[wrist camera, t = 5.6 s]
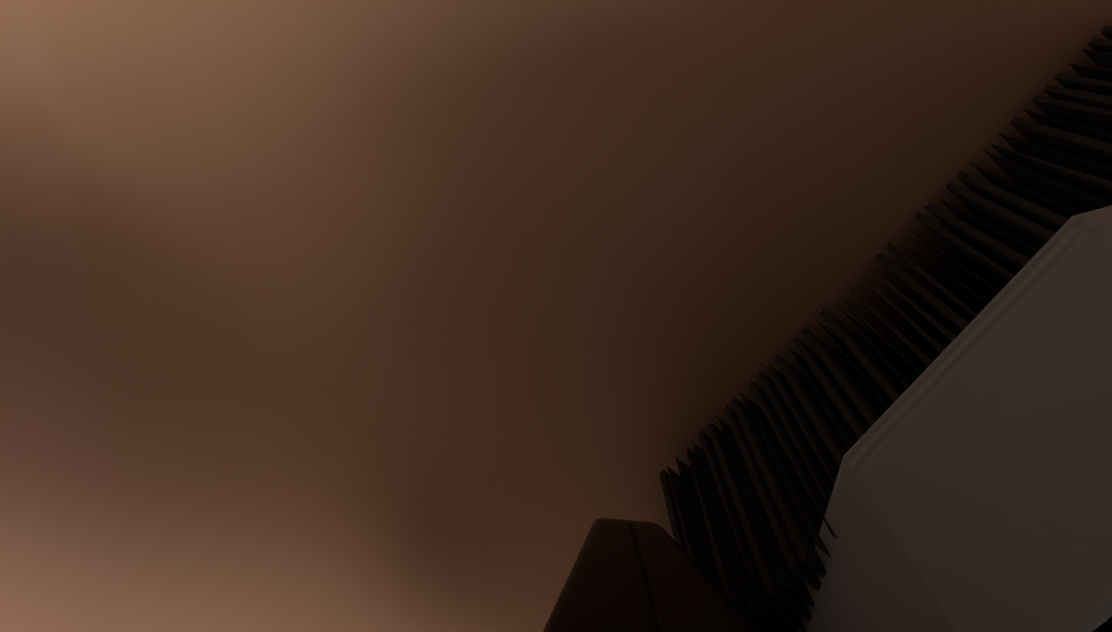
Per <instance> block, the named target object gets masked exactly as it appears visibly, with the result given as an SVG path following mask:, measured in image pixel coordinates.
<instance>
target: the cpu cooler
mask: <svg viewBox="0 0 1112 632" xmlns="http://www.w3.org/2000/svg"><path fill="white" fill-rule="evenodd" d="M1100 32H1101V33H1102V34H1103V35H1104V36H1105V37H1106V38H1107V39H1109V40H1107V39H1099V38H1093V39H1092V40H1091V41H1090V42H1089V43H1088V45H1089V46H1090V47H1091V48H1092V49H1093V50H1094V51H1090V50H1083V52H1084V53H1085V54H1086V55H1087V56H1088V57H1089V58H1090V59H1091V61H1092V62H1093V63H1094V64H1095V65H1096V66H1097V67H1094V66H1086V65H1078V64H1071V63H1068V64H1069V65H1070V66H1071V67H1072V68H1073V69H1074V70H1075V71H1076V72H1077V74H1078V75H1079V76H1078V75H1073V74H1067V73H1062V72H1059V73H1058V74H1057V75H1056V76H1055V77H1054V79H1055V80H1056V81H1057V82H1058V83H1059V84H1060V85H1061V86H1062V87H1061V86H1056V85H1051V84H1047V85H1046V86H1045V87H1044V88H1043V89H1042V90H1043V91H1044V92H1045V93H1046V94H1047V95H1048V96H1049V97H1046V96H1042V95H1036V96H1035V97H1034V98H1033V99H1032V101H1033V102H1034V103H1035V104H1036V105H1037V106H1038V107H1039V108H1040V109H1041V110H1042V111H1043V112H1044V113H1045V114H1046V115H1044V114H1040V113H1036V112H1032V111H1028V110H1024V109H1023V110H1024V111H1025V112H1026V113H1027V114H1028V115H1029V116H1030V117H1031V119H1032V120H1033V121H1034V122H1031V121H1028V120H1024V119H1021V118H1017V117H1014V118H1013V119H1012V120H1011V121H1010V122H1009V123H1010V124H1012V125H1013V126H1014V127H1015V128H1016V129H1017V130H1018V131H1019V132H1020V133H1021V134H1022V135H1023V136H1024V137H1025V138H1026V139H1027V140H1028V141H1029V142H1026V141H1023V140H1019V139H1016V138H1012V137H1009V136H1006V135H1002V134H999V133H998V134H999V135H1000V136H1001V137H1002V138H1003V139H1004V140H1006V141H1007V142H1008V143H1009V144H1010V145H1011V146H1012V147H1013V148H1014V149H1015V150H1016V151H1017V152H1015V151H1012V150H1009V149H1005V148H1002V147H999V146H996V145H992V144H990V145H991V146H992V147H993V148H994V149H995V150H996V151H997V152H998V153H999V154H1000V155H1001V156H1002V157H1003V158H1002V157H1000V156H997V155H995V154H992V153H990V152H988V151H985V150H983V149H982V150H983V151H984V152H985V153H986V154H987V155H988V156H989V157H990V158H991V159H992V160H993V161H994V162H995V163H996V164H997V165H998V166H999V167H1000V168H1001V169H1002V170H1003V171H1004V172H1005V173H1006V174H1007V175H1008V176H1009V177H1010V178H1011V179H1012V180H1013V181H1014V182H1015V183H1014V182H1012V181H1010V180H1008V179H1005V178H1003V177H1001V176H999V175H996V174H994V173H992V172H990V171H987V170H985V169H983V168H981V167H978V166H976V165H974V164H972V163H970V164H971V165H972V166H974V167H975V168H976V169H977V170H978V171H979V172H980V173H981V174H982V175H983V176H984V177H985V178H986V179H987V180H988V181H989V182H990V183H992V184H993V185H992V184H990V183H988V182H985V181H983V180H981V179H979V178H976V177H974V176H972V175H970V174H967V173H965V172H963V171H960V172H959V173H958V174H957V175H956V177H957V178H958V179H959V180H961V181H962V182H963V183H964V184H965V185H966V186H967V187H968V188H969V189H970V190H971V191H972V192H971V191H969V190H967V189H965V188H963V187H961V186H958V185H956V184H954V183H952V182H949V183H948V184H947V185H946V186H945V187H946V188H947V189H948V190H949V191H950V192H951V193H952V194H953V195H955V196H956V197H957V198H958V199H959V200H960V201H961V202H962V203H963V204H964V205H965V206H966V207H967V208H968V209H970V210H971V211H972V212H973V213H974V214H975V215H976V216H977V217H978V218H977V217H975V216H973V215H971V214H969V213H967V212H965V211H963V210H961V209H959V208H957V207H955V206H953V205H951V204H949V203H947V202H945V201H943V200H941V199H939V198H937V197H936V198H937V199H938V200H939V201H940V202H942V203H943V204H944V205H945V206H946V207H947V208H948V209H949V210H950V211H952V212H953V213H954V214H955V215H956V216H957V217H958V218H959V219H958V218H957V217H955V216H953V215H951V214H949V213H948V212H946V211H944V210H942V209H941V208H939V207H937V206H935V205H934V204H932V203H930V202H929V203H928V204H927V205H926V206H925V208H926V209H927V210H928V211H929V212H930V213H931V214H932V215H933V216H935V217H936V218H937V219H938V220H939V221H940V222H941V223H942V224H943V225H944V226H945V227H947V228H948V229H949V230H950V231H951V232H952V233H953V234H954V235H955V236H956V237H955V236H954V235H952V234H951V233H949V232H948V231H946V230H945V229H943V228H942V227H940V226H939V225H937V224H936V223H934V222H933V221H931V220H930V219H928V218H927V217H925V216H923V215H922V214H920V213H918V214H917V215H916V216H915V217H914V218H915V219H916V220H917V221H918V222H920V223H921V224H922V225H923V226H924V227H925V228H926V229H928V230H929V231H930V232H931V233H932V234H933V235H934V236H936V237H937V238H938V239H939V240H940V241H941V242H942V243H944V244H945V245H946V246H947V247H948V248H949V249H950V250H952V251H953V252H954V253H955V254H956V255H957V256H958V257H960V258H961V259H962V260H963V261H964V262H965V263H966V264H968V265H969V266H970V267H971V268H972V269H973V270H974V271H976V272H977V273H978V274H979V275H980V276H981V277H982V278H984V279H985V280H986V281H985V280H984V279H982V278H981V277H979V276H978V275H976V274H975V273H973V272H972V271H970V270H969V269H967V268H966V267H964V266H963V265H961V264H960V263H958V262H957V261H955V260H954V259H953V258H951V257H950V256H948V255H947V254H945V253H944V252H942V251H941V250H939V249H938V248H936V247H935V246H933V245H932V244H930V243H929V242H927V241H926V240H924V239H923V238H921V237H920V236H918V235H917V234H915V233H914V232H913V231H911V230H910V229H908V228H907V227H906V228H907V229H908V230H910V231H911V232H912V233H913V234H914V235H915V236H916V237H917V238H918V239H919V240H921V241H922V242H923V243H924V244H925V245H926V246H927V247H928V248H929V249H931V250H932V251H933V252H934V253H935V254H936V255H937V256H938V257H939V258H940V259H942V260H943V261H944V262H945V263H946V264H947V265H948V266H949V267H950V268H952V269H953V270H954V271H955V272H956V273H957V274H958V275H959V276H960V277H961V278H963V279H964V280H965V281H966V282H967V283H968V284H969V285H970V286H971V287H973V288H974V289H975V290H976V291H977V292H978V293H979V294H980V295H981V296H982V297H984V298H985V299H986V300H987V301H988V302H989V303H988V302H986V301H985V300H984V299H982V298H981V297H980V296H978V295H977V294H976V293H974V292H973V291H972V290H970V289H969V288H968V287H966V286H965V285H964V284H962V283H961V282H960V281H958V280H957V279H956V278H955V277H953V276H952V275H951V274H949V273H948V272H947V271H945V270H944V269H943V268H941V267H940V266H939V265H937V264H936V263H935V262H933V261H932V260H931V259H929V258H928V257H927V256H925V255H924V254H923V253H921V252H920V251H919V250H917V249H916V248H915V247H913V246H912V245H911V244H910V243H908V242H907V241H906V240H904V239H903V238H902V237H901V238H902V239H903V240H904V241H905V242H906V243H908V244H909V245H910V246H911V247H912V248H913V249H914V250H915V251H916V252H917V253H919V254H920V255H921V256H922V257H923V258H924V259H925V260H926V261H927V262H929V263H930V264H931V265H932V266H933V267H934V268H935V269H936V270H937V271H939V272H940V273H941V274H942V275H943V276H944V277H945V278H946V279H947V280H948V281H950V282H951V283H952V284H953V285H954V286H955V287H956V288H957V289H958V290H960V291H961V292H962V293H963V294H964V295H965V296H966V297H967V298H968V299H970V300H971V301H972V302H973V303H974V304H975V305H976V306H977V307H978V308H979V309H981V310H982V311H981V312H980V313H979V314H978V315H977V314H976V313H975V312H973V311H972V310H971V309H970V308H969V307H967V306H966V305H965V304H964V303H963V302H961V301H960V300H959V299H958V298H957V297H955V296H954V295H953V294H952V293H951V292H949V291H948V290H947V289H946V288H945V287H943V286H942V285H941V284H940V283H939V282H937V281H936V280H935V279H934V278H933V277H931V276H930V275H929V274H928V273H927V272H925V271H924V270H923V269H922V268H921V267H919V266H918V265H917V264H916V263H915V262H913V261H912V260H911V259H910V258H909V257H907V256H906V255H905V254H904V253H903V252H901V251H900V250H899V249H898V248H897V247H895V246H894V245H893V244H892V243H891V242H889V243H888V244H887V245H886V246H885V247H886V248H887V249H888V250H889V251H890V252H891V253H893V254H894V255H895V256H896V257H897V258H898V259H899V260H901V261H902V262H903V263H904V264H905V265H906V266H907V267H909V268H910V269H911V270H912V271H913V272H914V273H915V274H917V275H918V276H919V277H920V278H921V279H922V280H923V281H925V282H926V283H927V284H928V285H929V286H930V287H932V288H933V289H934V290H935V291H936V292H937V293H938V294H940V295H941V296H942V297H943V298H944V299H945V300H946V301H948V302H949V303H950V304H951V305H952V306H953V307H954V308H956V309H957V310H958V311H959V312H960V313H961V314H962V315H964V316H965V317H966V318H967V319H968V320H969V321H970V324H969V323H968V322H967V321H965V320H964V319H963V318H962V317H960V316H959V315H958V314H957V313H955V312H954V311H953V310H952V309H950V308H949V307H948V306H947V305H945V304H944V303H943V302H942V301H940V300H939V299H938V298H937V297H935V296H934V295H933V294H932V293H930V292H929V291H928V290H927V289H925V288H924V287H923V286H922V285H920V284H919V283H918V282H917V281H915V280H914V279H913V278H912V277H910V276H909V275H908V274H907V273H905V272H904V271H903V270H902V269H900V268H899V267H898V266H897V265H895V264H894V263H893V262H892V261H890V260H889V259H888V258H887V257H885V256H884V255H883V254H882V253H880V252H879V253H878V254H877V255H876V256H875V258H877V259H878V260H879V261H880V262H881V263H882V264H883V265H885V266H886V267H887V268H888V269H889V270H890V271H891V272H893V273H894V274H895V275H896V276H897V277H898V278H899V279H901V280H902V281H903V282H904V283H905V284H906V285H907V286H909V287H910V288H911V289H912V290H913V291H914V292H915V293H917V294H918V295H919V296H920V297H921V298H922V299H923V300H925V301H926V302H927V303H928V304H929V305H930V306H931V307H933V308H934V309H935V310H936V311H937V312H938V313H939V314H941V315H942V316H943V317H944V318H945V319H946V320H947V321H949V322H950V323H951V324H952V325H953V326H954V327H955V328H957V329H958V330H959V331H960V332H961V333H960V334H959V335H958V336H957V337H956V336H955V335H954V334H952V333H951V332H950V331H948V330H947V329H946V328H945V327H943V326H942V325H941V324H940V323H938V322H937V321H936V320H935V319H933V318H932V317H931V316H930V315H928V314H927V313H926V312H924V311H923V310H922V309H921V308H919V307H918V306H917V305H916V304H914V303H913V302H912V301H911V300H909V299H908V298H907V297H906V296H904V295H903V294H902V293H901V292H899V291H898V290H897V289H895V288H894V287H893V286H892V285H890V284H889V283H888V282H887V281H885V280H884V279H883V278H882V277H880V276H879V275H878V274H877V273H875V272H874V271H873V270H872V269H871V270H872V271H873V272H874V273H875V274H877V275H878V276H879V277H880V278H881V279H882V280H883V281H885V282H886V283H887V284H888V285H889V286H890V287H891V288H892V289H894V290H895V291H896V292H897V293H898V294H899V295H900V296H901V297H903V298H904V299H905V300H906V301H907V302H908V303H909V304H910V305H912V306H913V307H914V308H915V309H916V310H917V311H918V312H919V313H921V314H922V315H923V316H924V317H925V318H926V319H927V320H929V321H930V322H931V323H932V324H933V325H934V326H935V327H936V328H938V329H939V330H940V331H941V332H942V333H943V334H944V335H945V336H947V337H948V338H949V339H950V340H951V341H952V342H951V343H950V345H949V346H948V347H947V348H944V347H943V346H942V345H941V344H940V343H939V342H938V341H936V340H935V339H934V338H933V337H932V336H931V335H930V334H928V333H927V332H926V331H925V330H924V329H923V328H921V327H920V326H919V325H918V324H917V323H916V322H915V321H913V320H912V319H911V318H910V317H909V316H908V315H906V314H905V313H904V312H903V311H902V310H901V309H900V308H898V307H897V306H896V305H895V304H894V303H893V302H891V301H890V300H889V299H888V298H887V297H886V296H885V295H883V294H882V293H881V292H880V291H879V290H878V289H876V288H875V287H874V286H873V285H872V284H871V283H870V282H868V281H867V280H866V279H865V278H864V277H863V276H862V277H863V278H864V279H865V280H866V281H867V282H868V283H869V284H870V285H871V286H872V287H873V288H874V289H875V290H876V291H877V292H878V293H880V294H881V295H882V296H883V297H884V298H885V299H886V300H887V301H888V302H889V303H890V304H891V305H892V306H893V307H894V308H895V309H896V310H897V311H898V312H899V313H900V314H901V315H902V316H903V317H904V318H905V319H906V320H907V321H908V322H909V323H910V324H911V325H912V326H913V327H914V328H915V329H916V330H917V331H918V332H919V333H920V334H921V335H922V336H923V337H924V338H925V339H927V340H928V341H929V342H930V343H931V344H932V345H933V346H934V347H935V348H936V349H937V350H938V351H939V352H940V353H941V354H940V355H939V356H938V357H936V356H935V355H933V354H932V353H931V352H930V351H929V350H927V349H926V348H925V347H924V346H922V345H921V344H920V343H919V342H917V341H916V340H915V339H914V338H912V337H911V336H910V335H909V334H907V333H906V332H905V331H904V330H902V329H901V328H900V327H899V326H897V325H896V324H895V323H894V322H893V321H891V320H890V319H889V318H888V317H886V316H885V315H884V314H883V313H881V312H880V311H879V310H878V309H876V308H875V307H874V306H873V305H871V304H870V303H869V302H868V301H866V300H865V299H864V298H863V297H861V296H860V295H859V294H858V293H856V292H855V291H854V290H853V289H852V288H851V289H852V290H853V291H854V292H855V293H856V294H857V295H858V296H859V297H860V298H861V299H862V300H863V301H864V302H865V303H866V304H867V305H868V306H869V307H870V308H871V309H872V310H873V311H874V312H875V313H876V314H877V315H878V316H879V317H880V318H881V319H882V320H883V321H884V322H885V323H886V324H887V325H888V326H889V327H890V328H891V329H892V331H893V332H894V333H895V334H896V335H897V336H898V337H899V338H900V339H901V340H902V341H903V342H904V343H905V344H906V345H907V346H908V347H909V348H910V349H911V350H912V351H913V352H914V353H915V354H916V355H917V356H918V357H919V358H920V359H921V360H922V361H923V362H924V363H925V364H926V365H927V366H928V368H927V367H926V366H925V365H923V364H922V363H921V362H920V361H918V360H917V359H916V358H915V357H914V356H912V355H911V354H910V353H909V352H907V351H906V350H905V349H904V348H902V347H901V346H900V345H899V344H898V343H896V342H895V341H894V340H893V339H891V338H890V337H889V336H888V335H886V334H885V333H884V332H883V331H882V330H880V329H879V328H878V327H877V326H875V325H874V324H873V323H872V322H870V321H869V320H868V319H867V318H866V317H864V316H863V315H862V314H861V313H859V312H858V311H857V310H856V309H854V308H853V307H852V306H851V305H850V304H848V303H847V302H846V301H845V300H843V299H842V298H841V297H840V296H839V297H840V298H841V299H842V300H843V301H845V302H846V303H847V304H848V305H849V306H850V307H851V308H852V309H853V310H854V311H855V312H856V313H857V314H858V315H859V316H860V317H861V318H862V319H863V320H864V321H865V322H866V323H867V324H868V325H870V326H871V327H872V328H873V329H874V330H875V331H876V332H877V333H878V334H879V335H880V336H881V337H882V338H883V339H884V340H885V341H886V342H887V343H888V344H889V345H890V346H891V347H892V348H893V349H895V350H896V351H897V352H898V353H899V354H900V355H901V356H902V357H903V358H904V359H905V360H906V361H907V362H906V361H905V360H904V359H903V358H901V357H900V356H899V355H898V354H897V353H895V352H894V351H893V350H892V349H891V348H889V347H888V346H887V345H886V344H885V343H883V342H882V341H881V340H880V339H878V338H877V337H876V336H875V335H874V334H872V333H871V332H870V331H869V330H868V329H866V328H865V327H864V326H863V325H862V324H860V323H859V322H858V321H857V320H855V319H854V318H853V317H852V316H851V315H849V314H848V313H847V312H846V311H845V310H843V309H842V308H841V307H840V306H839V305H837V304H836V303H835V302H834V301H833V302H834V303H835V304H836V306H837V307H838V308H839V309H840V310H841V311H842V313H843V314H844V315H845V316H846V317H847V319H848V320H849V321H850V322H851V323H852V325H853V326H854V327H855V328H856V329H857V330H858V332H859V333H860V334H861V335H862V336H863V338H864V339H865V340H866V341H867V342H868V344H869V345H870V346H871V347H872V348H873V349H872V348H871V347H869V346H868V345H867V344H866V343H865V342H863V341H862V340H861V339H860V338H859V337H857V336H856V335H855V334H854V333H853V332H851V331H850V330H849V329H848V328H847V327H845V326H844V325H843V324H842V323H841V322H839V321H838V320H837V319H836V318H835V317H833V316H832V315H831V314H830V313H829V312H827V311H826V310H825V309H824V308H823V309H822V310H821V311H820V312H819V313H820V315H821V316H822V317H823V318H824V319H825V321H826V322H827V323H828V324H829V325H830V327H831V328H832V329H833V330H834V331H835V333H836V334H837V335H838V336H839V337H840V338H839V337H838V336H836V335H835V334H834V333H833V332H832V331H830V330H829V329H828V328H827V327H826V326H824V325H823V324H822V323H821V322H819V321H818V320H817V319H816V318H815V319H816V320H817V321H818V323H819V324H820V325H821V326H822V328H823V329H824V330H825V331H826V333H827V334H828V335H829V337H830V338H831V339H832V340H833V342H834V343H835V344H836V345H837V347H838V348H839V349H840V351H841V352H842V353H843V354H844V356H845V357H846V358H847V359H848V361H849V362H850V363H851V364H850V363H849V362H848V361H846V360H845V359H844V358H843V357H842V356H840V355H839V354H838V353H837V352H835V351H834V350H833V349H832V348H831V347H829V346H828V345H827V344H826V343H825V342H823V341H822V340H821V339H820V338H818V337H817V336H816V335H815V334H814V333H812V332H811V331H810V330H809V329H808V328H806V327H804V328H803V329H802V330H801V332H802V333H803V335H804V336H805V337H806V339H807V340H808V342H809V343H810V344H811V346H812V347H813V348H814V350H815V351H816V352H817V354H818V355H819V356H818V355H817V354H816V353H815V352H814V351H813V350H811V349H810V348H809V347H808V346H807V345H806V344H804V343H803V342H802V341H801V340H800V339H799V338H797V337H796V336H795V337H794V338H793V339H792V340H791V341H792V343H793V344H794V346H795V347H796V348H797V350H798V351H799V353H800V354H801V356H802V357H803V358H801V357H800V356H799V355H798V354H796V353H795V352H794V351H793V350H792V349H790V348H789V347H788V346H787V347H788V349H789V350H790V352H791V354H792V355H793V357H794V359H795V360H796V362H797V364H798V365H799V367H800V369H801V370H802V372H803V374H804V375H803V374H802V373H801V372H800V371H798V370H797V369H796V368H795V367H793V366H792V365H791V364H790V363H789V362H787V361H786V360H785V359H784V358H782V357H781V356H780V355H779V354H777V355H776V356H775V357H774V358H773V359H774V360H775V362H776V364H777V365H778V367H779V369H780V370H781V372H782V373H783V374H781V373H780V372H779V371H778V370H777V369H775V368H774V367H773V366H772V365H771V364H769V363H768V364H767V365H766V366H765V369H766V371H767V372H768V374H769V376H770V377H771V379H772V380H771V379H770V378H769V377H768V376H766V375H765V374H764V373H763V372H761V371H760V372H759V373H758V374H757V377H758V379H759V381H760V383H761V384H762V386H763V388H764V390H763V389H762V388H761V387H760V386H758V385H757V384H756V383H755V382H754V381H752V380H751V381H750V382H749V383H748V386H749V388H750V389H751V391H752V393H753V395H754V397H755V398H756V400H757V402H758V404H759V406H760V407H761V408H760V407H759V406H758V405H756V404H755V403H754V402H752V401H751V400H750V399H748V398H747V397H745V396H744V395H743V394H741V393H740V394H741V396H742V398H743V400H744V402H745V404H746V406H745V405H744V404H743V403H742V402H740V401H739V400H738V399H736V398H734V399H733V400H732V401H731V403H732V405H733V408H734V410H735V411H734V410H733V409H732V408H730V407H729V406H728V405H727V406H726V407H725V408H724V409H723V410H724V413H725V415H726V418H727V420H728V422H729V424H727V423H726V422H725V421H723V420H722V419H721V418H719V417H718V416H717V418H718V421H719V423H720V426H721V429H722V430H720V429H719V428H718V427H717V426H715V425H714V424H713V423H712V422H710V423H709V424H708V425H707V429H708V431H709V434H710V436H709V435H707V434H706V433H705V432H704V431H701V432H700V433H699V434H698V436H699V439H700V441H701V444H702V447H703V449H704V450H703V449H702V448H700V447H699V446H698V445H696V444H695V443H693V442H692V441H691V442H692V445H693V448H694V451H695V454H694V453H693V452H692V451H691V450H689V449H688V448H687V447H686V451H687V454H688V458H689V462H690V466H691V468H690V467H689V466H687V465H686V464H684V463H683V462H682V461H680V460H679V459H677V458H676V457H675V458H676V462H677V465H678V469H679V472H680V475H678V474H677V473H676V472H675V471H673V470H672V469H671V468H669V467H668V466H667V468H668V472H669V474H668V473H667V472H666V471H665V470H664V469H663V470H662V471H661V472H660V473H659V474H660V479H661V483H662V487H663V492H664V496H665V501H666V505H667V509H668V514H669V518H670V523H671V527H672V531H673V536H674V540H675V542H676V543H677V544H678V545H679V546H680V547H681V548H682V549H683V550H684V551H685V552H686V553H687V554H688V555H689V556H690V558H691V559H692V560H693V561H694V562H695V563H696V564H697V565H698V566H699V567H700V568H701V569H702V570H703V571H704V572H705V573H706V574H707V576H708V577H709V578H710V579H711V580H712V581H713V582H714V583H715V584H716V585H717V586H718V587H719V588H720V589H721V590H722V591H723V593H724V594H725V595H726V596H727V597H728V598H729V599H730V600H731V601H732V602H733V603H734V604H735V605H736V606H737V607H738V608H739V610H740V611H741V612H742V613H743V614H744V615H745V616H746V617H747V618H748V619H749V620H750V621H751V622H752V623H753V624H754V625H755V626H756V628H757V629H758V630H759V631H760V632H1112V26H1105V27H1104V28H1103V29H1102V30H1101V31H1100ZM988 144H989V143H988ZM960 219H961V220H960ZM958 238H959V239H958Z"/></svg>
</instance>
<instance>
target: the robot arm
mask: <svg viewBox="0 0 1112 632" xmlns="http://www.w3.org/2000/svg"><path fill="white" fill-rule="evenodd" d="M543 632H760V631H759V630H758V629H757V628H756V626H755V625H754V624H753V623H752V622H751V621H750V620H749V619H748V618H747V617H746V616H745V615H744V614H743V613H742V612H741V611H740V610H739V608H738V607H737V606H736V605H735V604H734V603H733V602H732V601H731V600H730V599H729V598H728V597H727V596H726V595H725V594H724V593H723V591H722V590H721V589H720V588H719V587H718V586H717V585H716V584H715V583H714V582H713V581H712V580H711V579H710V578H709V577H708V576H707V574H706V573H705V572H704V571H703V570H702V569H701V568H700V567H699V566H698V565H697V564H696V563H695V562H694V561H693V560H692V559H691V558H690V556H689V555H688V554H687V553H686V552H685V551H684V550H683V549H682V548H681V547H680V546H679V545H678V544H677V543H676V542H675V541H674V539H673V538H672V537H671V536H670V535H669V534H668V533H667V532H666V531H665V530H664V529H663V528H662V527H661V526H660V525H658V524H657V523H653V522H642V521H631V520H621V519H610V518H597V519H596V520H595V521H594V522H593V524H592V526H591V528H590V531H589V533H588V535H587V537H586V539H585V541H584V544H583V546H582V548H581V550H580V552H579V554H578V557H577V559H576V561H575V563H574V565H573V567H572V570H571V572H570V574H569V576H568V578H567V580H566V583H565V585H564V587H563V589H562V591H561V593H560V596H559V598H558V600H557V602H556V604H555V606H554V609H553V611H552V613H551V615H550V617H549V619H548V622H547V624H546V626H545V628H544V630H543Z"/></svg>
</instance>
